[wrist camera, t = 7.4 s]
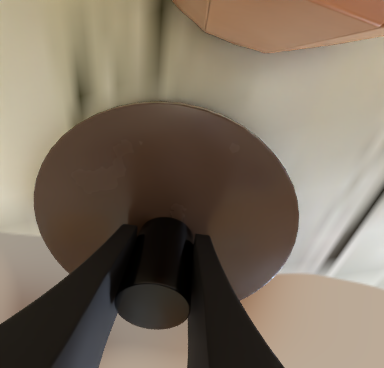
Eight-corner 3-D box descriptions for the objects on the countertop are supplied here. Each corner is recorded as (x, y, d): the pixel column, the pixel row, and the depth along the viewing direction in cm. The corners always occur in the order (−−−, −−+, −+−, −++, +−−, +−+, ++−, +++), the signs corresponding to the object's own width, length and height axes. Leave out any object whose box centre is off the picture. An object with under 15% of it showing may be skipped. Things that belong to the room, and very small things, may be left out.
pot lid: (342, 210, 10) (429, 297, 7) (189, 319, 15) (185, 407, 11) (125, 19, 7) (35, -41, 3) (15, 235, 12) (-76, 317, 8)
